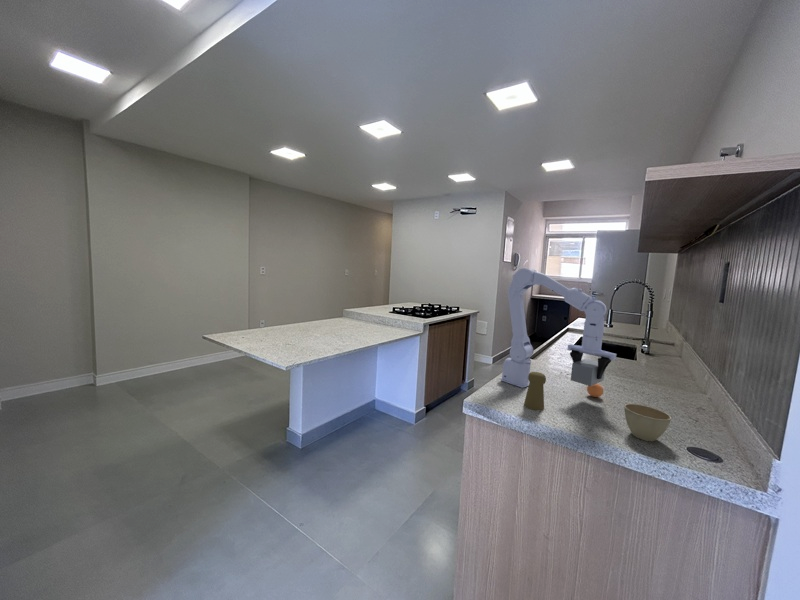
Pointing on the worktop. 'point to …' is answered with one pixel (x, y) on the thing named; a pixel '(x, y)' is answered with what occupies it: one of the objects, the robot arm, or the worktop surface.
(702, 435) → the worktop surface
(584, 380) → the grey rectangular block
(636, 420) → the pale yellow bowl
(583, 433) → the worktop surface
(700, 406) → the worktop surface
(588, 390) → the ball
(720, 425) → the worktop surface
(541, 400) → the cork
